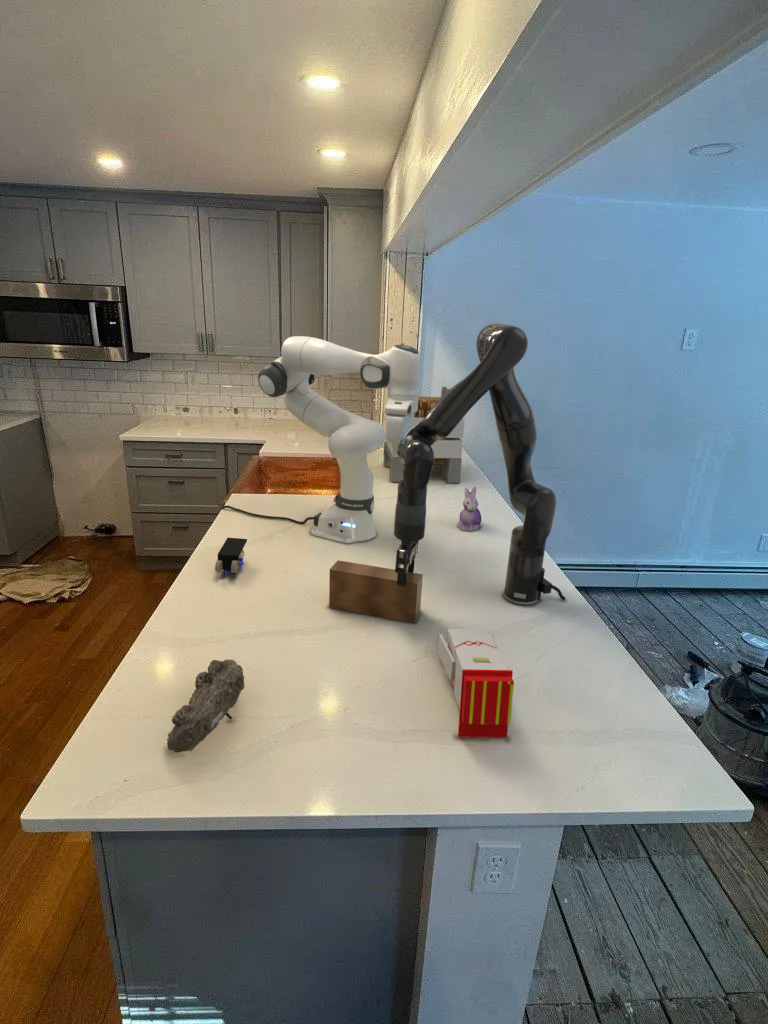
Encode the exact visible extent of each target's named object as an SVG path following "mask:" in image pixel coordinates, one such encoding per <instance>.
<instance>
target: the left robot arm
mask: <svg viewBox="0 0 768 1024" xmlns="http://www.w3.org/2000/svg"><path fill="white" fill-rule="evenodd" d="M280 354H281V355H280V356H279V357H277V358H276V359H275V360H273V361H270V362H269V363H268V364H266V365H264V366H263V367H262V368H261V370H260V371H259V372H258V375H257V381H258V385H259V387H260V389H261V390H262V392H263V393H264V394H266V395H267V396H268V397H270V398H278V397H282V396H284V399H283V401H284V402H283V403H284V406H285V408H286V409H287V410H288V411H289V412H290V413H291V414H292V415H293V416H294V417H295V419H297V420H299V421H300V422H301V423H303V424H304V425H306V426H307V427H308V428H310V429H312V430H313V431H314V432H316V433H318V434H319V435H321V436H322V437H326V438H328V441H327V442H328V444H327V445H328V450H329V452H330V454H331V455H332V456H333V457H334V458H335V460H336V462H337V465H338V468H339V476H340V480H339V481H340V488H339V489H340V490H339V491H338V492H337V494H336V495H335V496H334V497H333V502H334V504H333V505H331V506H329V507H328V508H326V509H325V510H323V512H319V513H317V514H316V515H313V516H309V517H306V518H305V519H304V520H303V521H300V520H299V521H298V520H295V519H293V518H292V517H291V518H290V517H286V516H273V515H264V514H258V513H253V512H249V511H245V510H243V509H240V508H236V507H233V506H231V505H223V506H221V508H220V510H224V509H230V510H233V511H236V512H240V513H242V514H245V515H248V516H252V517H258V518H263V519H272V520H284V521H290V522H292V523H295V524H298V525H304V524H306V523H307V522H308V521H311V520H312V521H313V526H312V528H311V530H310V533H311V536H315V537H319V538H323V539H326V540H330V541H336V542H339V543H343V544H352V543H357V542H365V541H368V540H372V539H373V538H375V537H376V535H377V532H376V528H375V523H374V513H373V512H374V509H375V496H374V473H373V471H372V470H371V469H370V468H369V464H368V459H367V458H368V454H371V453H373V452H375V451H377V450H378V449H379V448H380V447H381V446H382V445H384V442H386V441H385V438H387V441H389V442H392V443H391V444H392V454H393V455H398V454H397V448H398V445H399V443H400V441H401V439H402V438H403V437H404V435H405V434H406V433H407V432H408V431H410V430H411V429H412V428H413V426H414V412H417V410H418V397H420V396H419V395H420V393H419V383H420V380H421V367H422V366H421V355H420V352H419V350H418V349H417V348H415V347H413V346H409V345H405V344H395V345H393V346H391V347H390V349H388V350H385V351H383V352H381V353H378V354H373V353H368V352H363V351H359V350H353V349H351V348H348V347H346V346H342V345H338V344H336V343H333V342H331V341H328V340H324V339H321V338H317V337H313V336H306V335H305V336H304V335H303V336H302V335H295V336H290V337H287V338H286V339H285V340H284V341H283V343H282V346H281V349H280ZM348 373H358V374H359V376H360V380H361V382H362V384H363V385H364V386H365V387H366V388H368V389H371V390H381V389H387V399H386V404H385V406H384V414H385V428H384V426H383V425H382V424H381V423H380V422H378V421H376V420H372V419H368V418H365V417H363V416H360V415H358V414H356V413H353V412H351V411H349V410H346V409H344V408H341V407H340V406H339V405H337V404H335V403H333V402H332V401H331V400H329V399H327V398H326V397H324V396H322V395H321V394H319V393H318V392H316V391H315V390H314V389H313V388H311V386H310V385H312V384H313V383H314V382H315V381H316V379H315V378H316V376H333V375H340V374H348ZM386 414H387V416H386Z"/></svg>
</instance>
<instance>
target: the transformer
mask: <svg viewBox="0 0 768 1024" xmlns="http://www.w3.org/2000/svg"><path fill="white" fill-rule="evenodd" d="M449 389H450V388H447V386H442V387H441V392H440V393H441V394H440V396H419V397H418V410H417V412H414V426H415V425H416V424H418V423H419V422H420V421H422V420H423V419H424V418H425V417H426V415H427V414H428V413H429V411H430V410H431V409H432V408H433V406H434V405H435V404H436V403H437V402H438V400H439V399H440V398H441V397H442V396H443V395H444V394H445V393H446V392H447V391H448V390H449ZM386 416H387V414H385V417H386ZM414 426H413V427H414ZM464 429H465V419H464V418H462V420H461V421H460V422H459V423H458V425H457V426H456V427H455V428H454V430H453V431H452V432H451V433H450V434H449V435H448V436H447V437H446V438H444V439H438V440H437V441H436V442H435V443H434V444H433V445H431V447H432V449H433V451H434V465H433V467H436V468H437V470H438V469H439V473H440V474H441V475H443V478H444V479H445V481H446V482H447V483H449V484H455V483H456V484H459V483H461V472H462V461H463V460H462V453H463V442H464V441H463V440H462V439H463V438H464V431H465V430H464ZM391 443H392V442H389V441H387V438H386V437H385V441H384V443H383V466H384V467H388V468H389V475H388V476H389V477H388V478H389V480H390V482H391V483H399V480H400V479H401V478H402V477H403V476H404V469H405V463H403V462H402V461H401V460H400V459H399V457H398V455H393V454H392V444H391Z"/></svg>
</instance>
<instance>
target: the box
mask: <svg viewBox="0 0 768 1024" xmlns="http://www.w3.org/2000/svg"><path fill="white" fill-rule="evenodd" d="M397 575H398V573H396V572H395V568H394V569H393V568H387V567H381V566H375V565H370V564H369V565H368V564H363V563H356V562H351V561H346V560H345V561H344V560H337V561H335V563H334V564H333V565H332V566H331V567H330V568H329V584H328V588H329V589H328V590H329V593H328V594H329V595H328V607H329V608H331V609H337V610H340V611H341V610H342V611H347V612H351V613H352V612H353V613H359V614H363V615H369V616H374V617H379V618H385V619H390V620H394V621H395V620H396V621H401V622H407V623H412V624H416V622H417V620H418V618H419V615H420V613H421V606H422V591H423V578H424V574H423V573H418V572H407V581H406V586H405V587H402V586H398V585H397Z"/></svg>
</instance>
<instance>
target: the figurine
mask: <svg viewBox="0 0 768 1024" xmlns="http://www.w3.org/2000/svg"><path fill="white" fill-rule="evenodd" d="M476 494H477V487H476V486H474V487H473V488H472V489H471V491H470V490H469V488H467V487H464V499H463V501H462V506H463V509H462V510H461V511H460V513H459V521H458V527H459V528H460V529H461V530H463V531H469V532H472V531H476V530H478V529H479V528H481V523H482V514H481V512H480V510H479V508H478V507H479V501H478V498H477V497H476Z"/></svg>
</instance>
